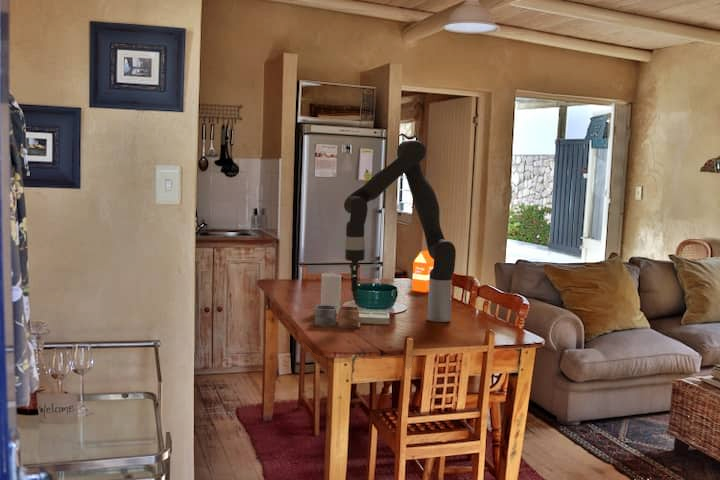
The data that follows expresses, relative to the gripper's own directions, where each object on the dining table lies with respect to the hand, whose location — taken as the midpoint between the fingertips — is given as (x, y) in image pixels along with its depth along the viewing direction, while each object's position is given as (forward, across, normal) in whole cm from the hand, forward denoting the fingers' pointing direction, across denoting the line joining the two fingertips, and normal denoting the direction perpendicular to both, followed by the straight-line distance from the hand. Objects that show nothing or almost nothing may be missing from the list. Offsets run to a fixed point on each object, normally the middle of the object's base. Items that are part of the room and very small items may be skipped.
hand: (354, 289), depth 270 cm
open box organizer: (+14, -2, +7) cm, 16 cm away
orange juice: (+16, +79, -33) cm, 87 cm away
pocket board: (+14, +7, -6) cm, 17 cm away
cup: (+14, +19, +10) cm, 26 cm away
